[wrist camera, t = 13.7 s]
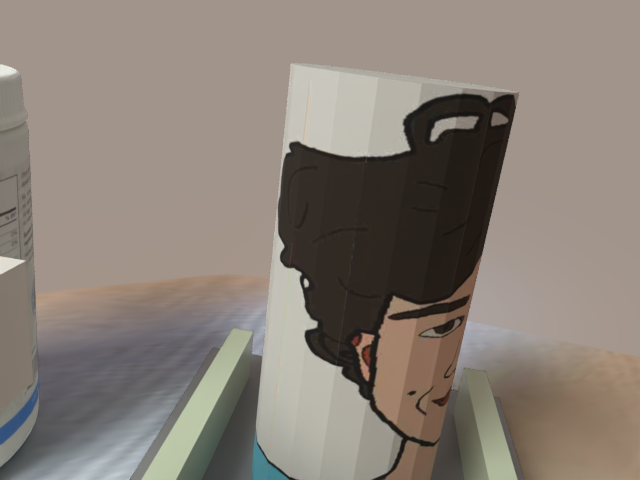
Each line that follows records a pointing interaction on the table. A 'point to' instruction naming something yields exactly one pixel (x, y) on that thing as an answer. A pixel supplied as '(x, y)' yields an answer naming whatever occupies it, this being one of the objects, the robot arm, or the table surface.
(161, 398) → the table surface
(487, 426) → the holder
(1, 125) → the supplement tub
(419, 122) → the white printed cylinder
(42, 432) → the table surface
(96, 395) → the table surface
